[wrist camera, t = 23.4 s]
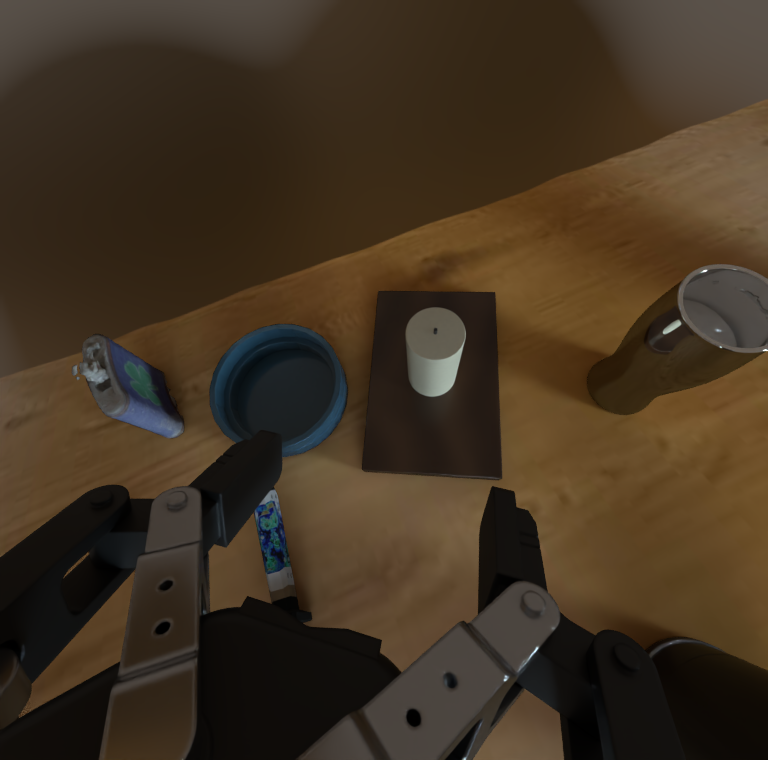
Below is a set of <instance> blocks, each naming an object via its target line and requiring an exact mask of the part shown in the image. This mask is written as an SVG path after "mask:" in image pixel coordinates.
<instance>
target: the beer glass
mask: <svg viewBox="0 0 768 760" xmlns="http://www.w3.org/2000/svg"><path fill="white" fill-rule="evenodd" d="M766 351H768V279H767V278H765V277H764V276H762V275H760V274H758V273H756V272H754V271H752V270H749V269H747V268H743V267H740V266H735V265H728V264H715V265H708V266H704V267H701V268H698V269H696V270H694V271H693V272H691V273H690V274H688V275H687V276H686V277H685V278H684V279H683V280H682V281H680V282H679V283H678V284H676V285H675V286H674V287H672V288H671V289H670V290H668V291H667V292H666V293H665V294H663V295H662V296H661V297H660V298H658V299H657V300H656V301H655V302H654V303H653V304H652V305H650V306H649V307H648V308H647V309H646V310H645V311H644V312H643V313H642V314H641V316H640V317H639V318H638V319H637V320H636V321H635V323H634V324H633V325H632V327H631V328H630V329H629V331H628V332H627V334H626V336H625V337H624V339H623V340H622V342H621V344H620V345H619V347H618V348H617V350H616V351H615V352H614V353H613V354H612V355H610V356H608V357H606V358H604V359H602V360H600V361H598V362H597V363H596V364H594V365H593V366H592V368H591V369H590V371H589V373H588V376H587V388H588V391H589V393H590V395H591V397H592V398H593V400H594V401H595V402H596V403H597V404H598V405H599V406H600V407H602V408H603V409H605V410H607V411H609V412H611V413H614V414H619V415H630V414H635V413H637V412H639V411H641V410H643V409H644V408H646V407H647V406H648V405H649V404H650V403H651V402H652V401H653V400H654V399H655V398H656V397H659V396H661V395H665V394H669V393H674V392H678V391H682V390H686V389H690V388H694V387H697V386H700V385H703V384H706V383H709V382H711V381H714V380H716V379H718V378H721V377H723V376H725V375H727V374H729V373H731V372H733V371H735V370H736V369H738V368H740V367H742V366H744V365H745V364H747V363H749V362H750V361H752V360H754V359H755V358H757V357H758V356H760V355H761V354H763V353H765V352H766Z"/></svg>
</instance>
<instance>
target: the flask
mask: <svg viewBox="0 0 768 760" xmlns="http://www.w3.org/2000/svg"><path fill="white" fill-rule="evenodd" d="M82 354H83V363H81V362H80V367H79V369H80V374H82V375H85V376H86V381H87V383H88V386H89V388H90V391H91V392H92V395H93V397H94V398H95V400H96V402H97V404H98V406H99V407H100V409H101V410H102V412H103V413H104V414H105V415H106V416H108V417H111V418H115V419H118V420H120V421H123V422H126V423H129V424H132V425H134V426H137V427H140V428H143V429H146V430H149V431H151V432H154V433H156V434H159V435H162V436H164V437H167V438H175V437H178V436H179V435H180V434H181V433H183V432H184V421H183V417H182V415H180V414H179V412H178V408H177V404H176V401H175V399H174V398H173V397H172V396H171V395H170V394H169V391H170V389H169V388H168V387H167V385H166V384H167V381H166V379H165V376H164V373H163V372H162V371H160V370H158V369H156V368H154V367H153V366H151V365H150V364H148V363H146V362H145V361H143V360H142V359H140V358H139V357H137V356H135V355H134V354H132V353H130V352H129V351H127V350H126V349H124V348H123V347H121V346H120V345H118V344H116V343H114V342H113V341H112V340H110V339H109V338H107V337H105V336H104V335H101V334H94V335H92V336H91V337H89V338H88V339H87V340H86V341H85V342H84V343H83V347H82ZM77 373H78V372H77V365H74V366H73V367H72V374H73V375H74V376H75V375H76V374H77ZM76 379H79V377H76Z"/></svg>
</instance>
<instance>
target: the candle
mask: <svg viewBox="0 0 768 760" xmlns="http://www.w3.org/2000/svg"><path fill="white" fill-rule="evenodd" d="M405 336H406V350H407V363H408V377H409V381H410V384H411V385H412V387H413V388H414V389H415V390H416V391H417V392H419V393H420V394H422V395H425V396H431V397H434V396H439V395H442V394H444V393H446V392H447V391H449V390H450V389H451V387H452V386H453V384H454V382H455V378H456V374H457V370H458V366H459V362H460V358H461V354H462V350H463V346H464V342H465V338H466V331H465V327H464V324H463V322H462V321H461V319H460V318H459V317H458V316H457V315H456V314H455V313H453V312H452V311H450V310H447V309H444V308H439V307H432V308H427V309H424V310H421V311H419V312H418V313H416V314H415V315H414V316H413V317H412V318H411V319H410V321H409V322H408V324H407V327H406V332H405Z"/></svg>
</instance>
